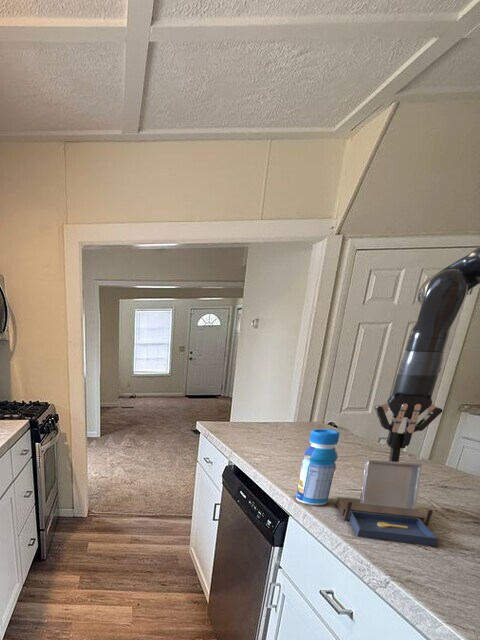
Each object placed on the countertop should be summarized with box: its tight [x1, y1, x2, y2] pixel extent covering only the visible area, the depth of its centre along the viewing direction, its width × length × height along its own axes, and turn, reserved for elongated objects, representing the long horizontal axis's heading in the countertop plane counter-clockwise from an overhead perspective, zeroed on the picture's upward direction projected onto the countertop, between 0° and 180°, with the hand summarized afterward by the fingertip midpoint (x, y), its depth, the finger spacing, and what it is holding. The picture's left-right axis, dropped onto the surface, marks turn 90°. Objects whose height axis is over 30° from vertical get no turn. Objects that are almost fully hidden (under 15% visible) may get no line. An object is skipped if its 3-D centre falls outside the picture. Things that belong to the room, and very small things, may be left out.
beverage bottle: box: [295, 428, 340, 506], centre depth 111 cm, size 8×8×20 cm
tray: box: [348, 511, 439, 547], centre depth 96 cm, size 15×12×2 cm
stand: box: [335, 496, 434, 528], centre depth 104 cm, size 17×13×5 cm
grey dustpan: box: [359, 432, 423, 510], centre depth 99 cm, size 11×18×2 cm
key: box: [377, 522, 408, 529], centre depth 97 cm, size 6×3×1 cm, turn 69°
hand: (396, 446), depth 98 cm, fingers closed on grey dustpan
